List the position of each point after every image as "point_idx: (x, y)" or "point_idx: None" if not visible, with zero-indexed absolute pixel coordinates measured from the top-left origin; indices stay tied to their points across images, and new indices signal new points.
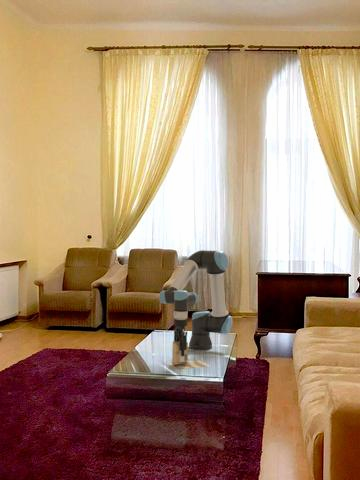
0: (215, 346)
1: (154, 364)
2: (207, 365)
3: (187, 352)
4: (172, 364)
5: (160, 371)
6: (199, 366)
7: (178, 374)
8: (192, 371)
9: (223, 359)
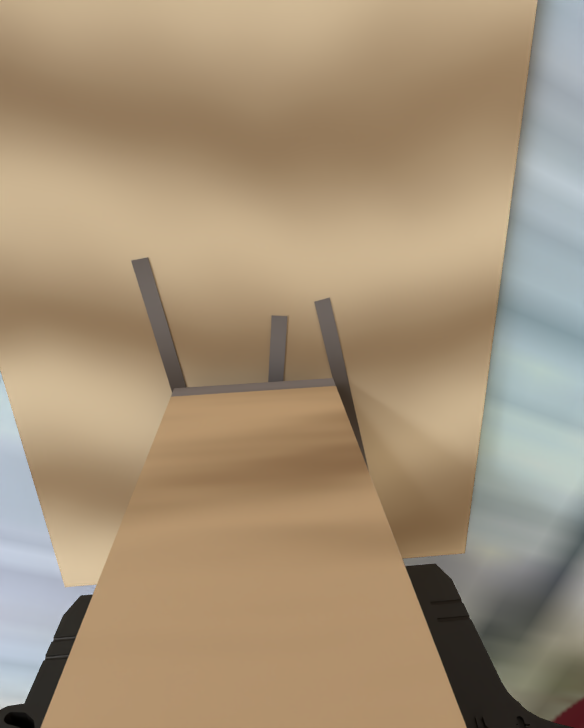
0: None
1: (35, 659)
2: None
3: (385, 520)
4: None
5: None
6: (457, 184)
7: (554, 537)
8: (514, 343)
9: None
